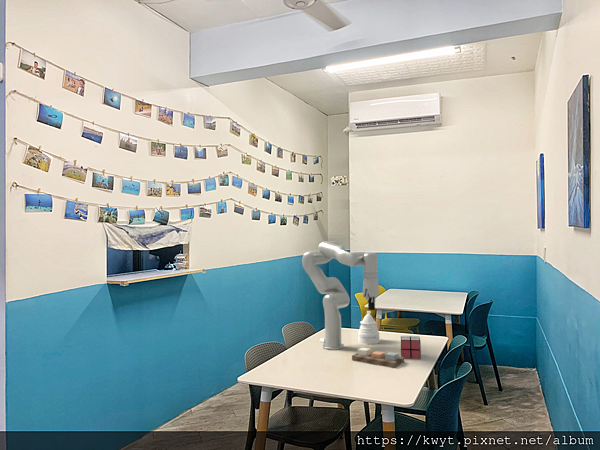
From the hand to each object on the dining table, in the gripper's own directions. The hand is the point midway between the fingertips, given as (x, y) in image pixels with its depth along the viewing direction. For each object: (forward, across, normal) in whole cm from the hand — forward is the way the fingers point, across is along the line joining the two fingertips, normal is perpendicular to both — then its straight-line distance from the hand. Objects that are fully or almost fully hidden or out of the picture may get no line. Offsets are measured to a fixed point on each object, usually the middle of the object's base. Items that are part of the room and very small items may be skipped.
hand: (371, 309), depth 247 cm
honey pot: (+25, -28, -18) cm, 42 cm away
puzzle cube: (+25, -11, +17) cm, 32 cm away
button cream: (+23, +7, -1) cm, 24 cm away
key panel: (+25, +7, +7) cm, 27 cm away
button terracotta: (+24, +7, +7) cm, 26 cm away
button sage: (+23, +7, +15) cm, 28 cm away
